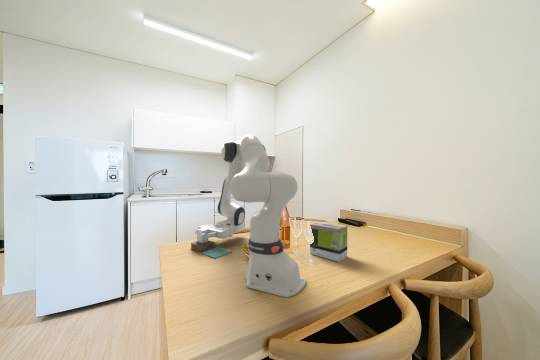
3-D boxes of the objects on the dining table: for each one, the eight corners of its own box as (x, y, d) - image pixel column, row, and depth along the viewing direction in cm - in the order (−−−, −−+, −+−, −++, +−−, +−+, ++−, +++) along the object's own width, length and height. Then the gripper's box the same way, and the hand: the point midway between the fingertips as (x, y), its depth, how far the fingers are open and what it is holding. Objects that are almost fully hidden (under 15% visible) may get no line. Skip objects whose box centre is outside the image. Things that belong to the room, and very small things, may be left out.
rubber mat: (231, 252, 100) (231, 251, 100) (215, 258, 92) (215, 257, 92) (218, 247, 106) (218, 247, 106) (201, 253, 98) (201, 252, 98)
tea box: (347, 256, 96) (348, 225, 96) (339, 262, 89) (339, 229, 88) (319, 248, 106) (319, 220, 106) (309, 254, 99) (309, 223, 98)
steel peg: (208, 248, 106) (208, 229, 106) (201, 250, 103) (201, 230, 102) (203, 246, 108) (203, 227, 108) (197, 248, 105) (197, 229, 105)
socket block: (214, 247, 106) (214, 242, 106) (200, 252, 100) (200, 246, 100) (204, 244, 111) (204, 239, 111) (191, 248, 104) (191, 243, 104)
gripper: (210, 221, 122) (189, 225, 111) (234, 225, 110) (214, 231, 99) (210, 231, 122) (189, 236, 111) (234, 237, 110) (214, 244, 99)
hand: (201, 234), depth 105 cm, fingers open, 8 cm apart
